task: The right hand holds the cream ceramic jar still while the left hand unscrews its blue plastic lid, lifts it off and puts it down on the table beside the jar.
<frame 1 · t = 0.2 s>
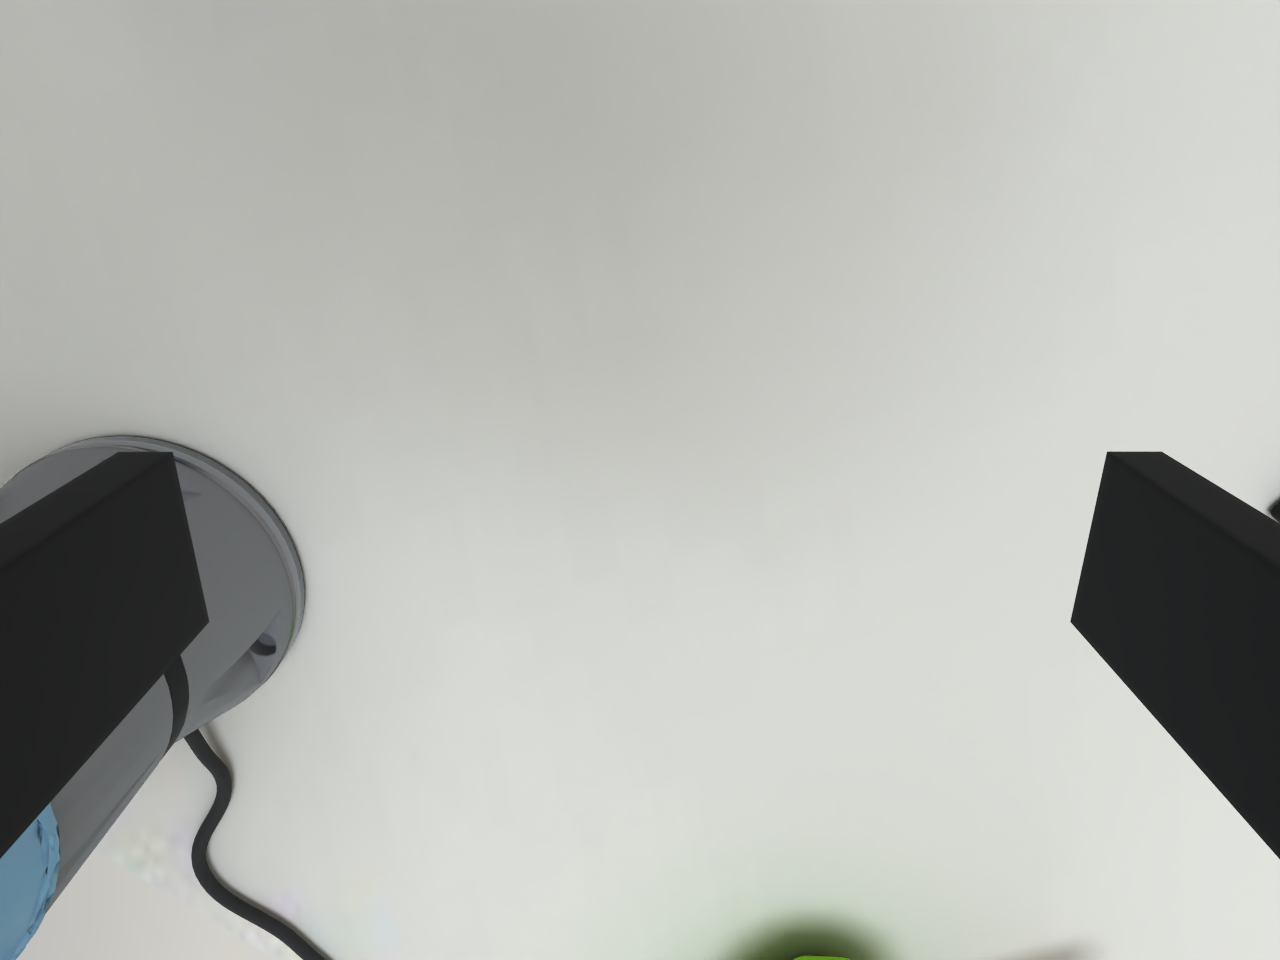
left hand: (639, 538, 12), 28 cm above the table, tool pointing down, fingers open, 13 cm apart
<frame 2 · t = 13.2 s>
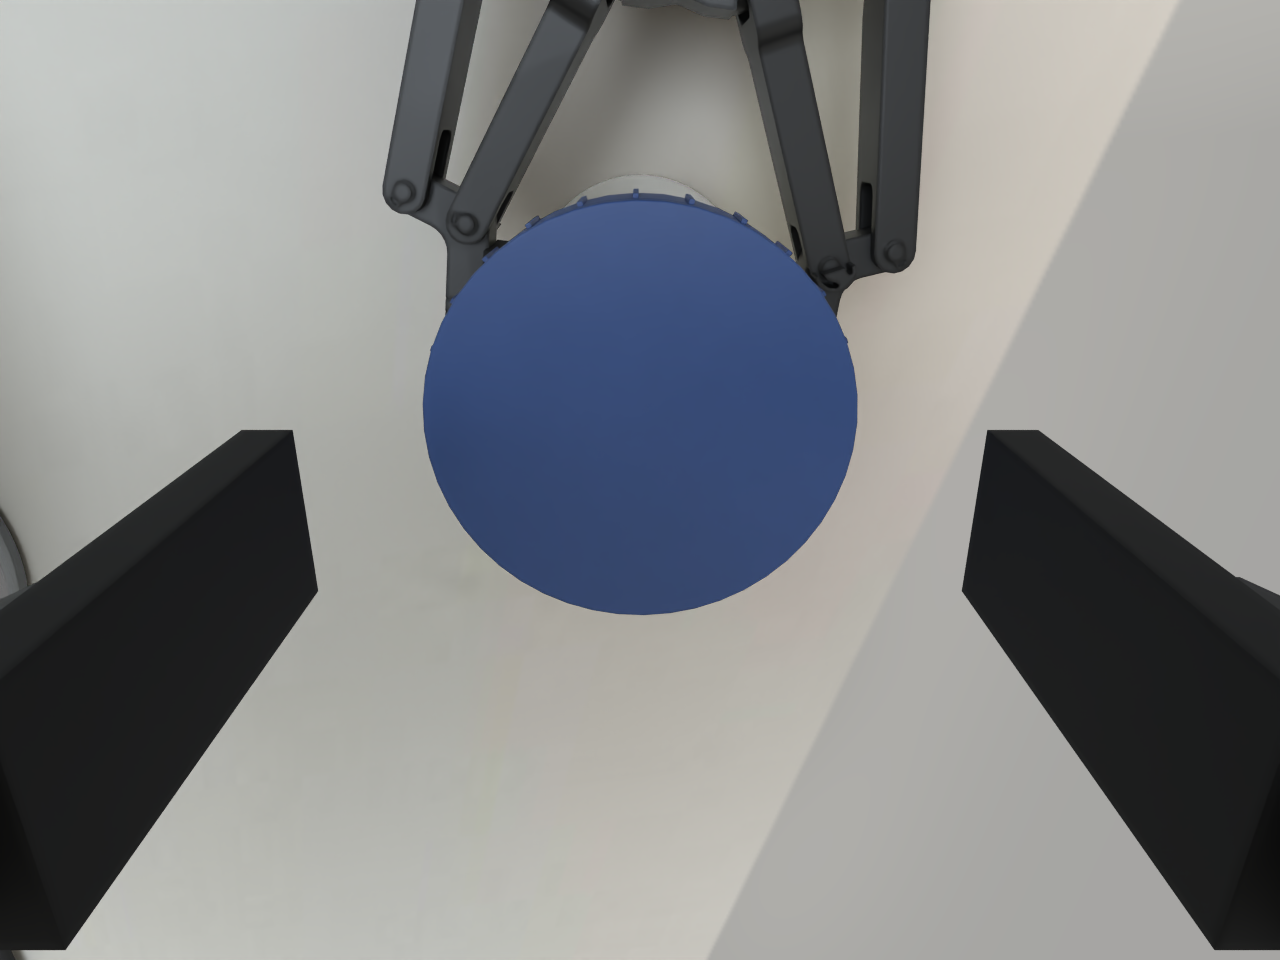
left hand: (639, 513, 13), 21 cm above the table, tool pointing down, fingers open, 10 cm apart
right hand: (623, 460, 29), fingers closed on jar, 8 cm apart
jar: (640, 285, 33), on the table, touching right hand
lid: (640, 421, 17), point 17 cm above the table, screwed on, not yet turned
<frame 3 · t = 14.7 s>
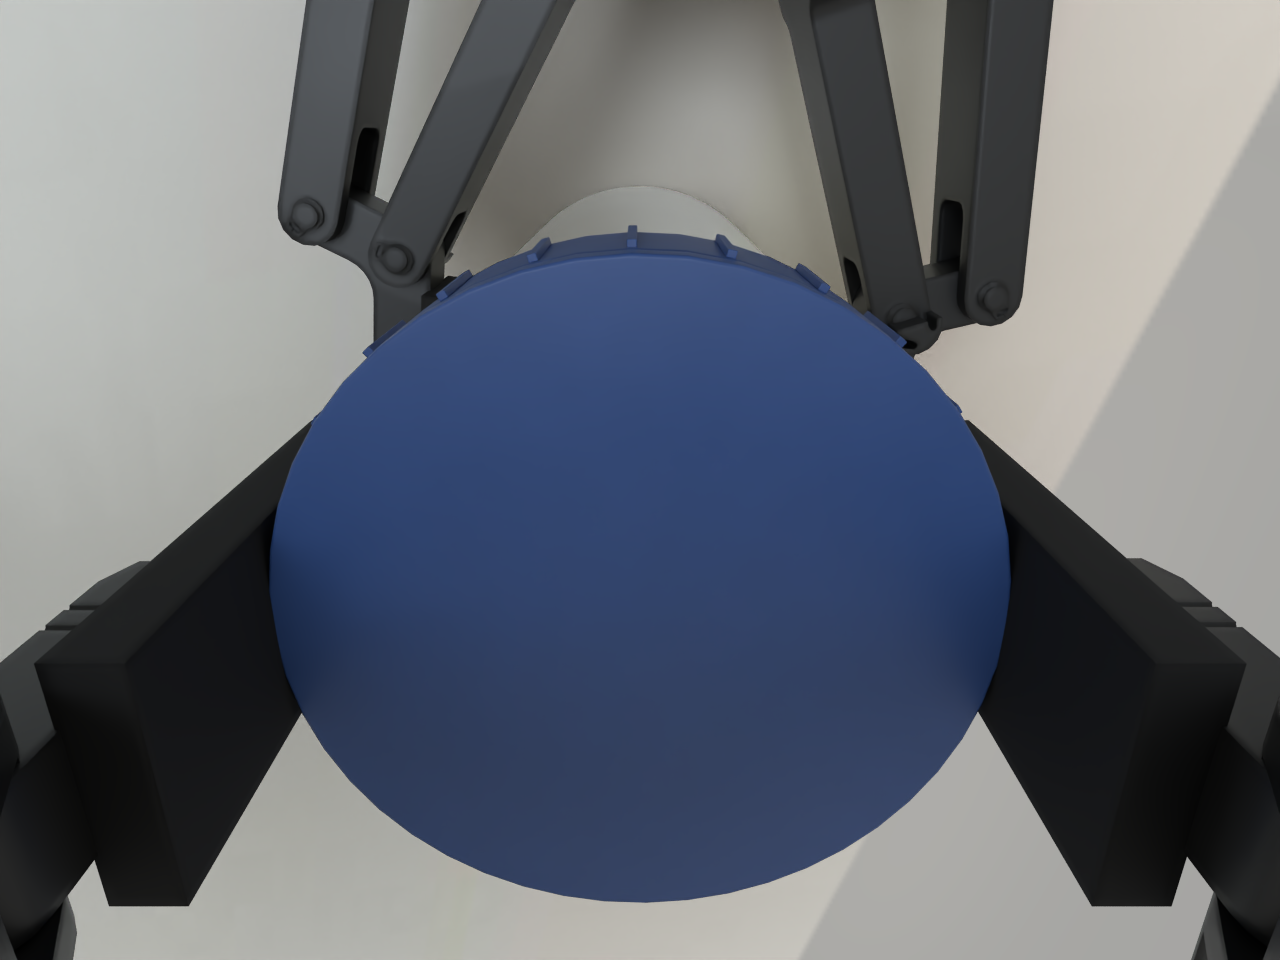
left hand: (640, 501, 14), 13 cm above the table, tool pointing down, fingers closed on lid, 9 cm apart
right hand: (617, 565, 22), fingers closed on jar, 8 cm apart
jar: (639, 326, 26), on the table, touching right hand
lid: (639, 615, 10), point 17 cm above the table, screwed on, not yet turned, touching left hand
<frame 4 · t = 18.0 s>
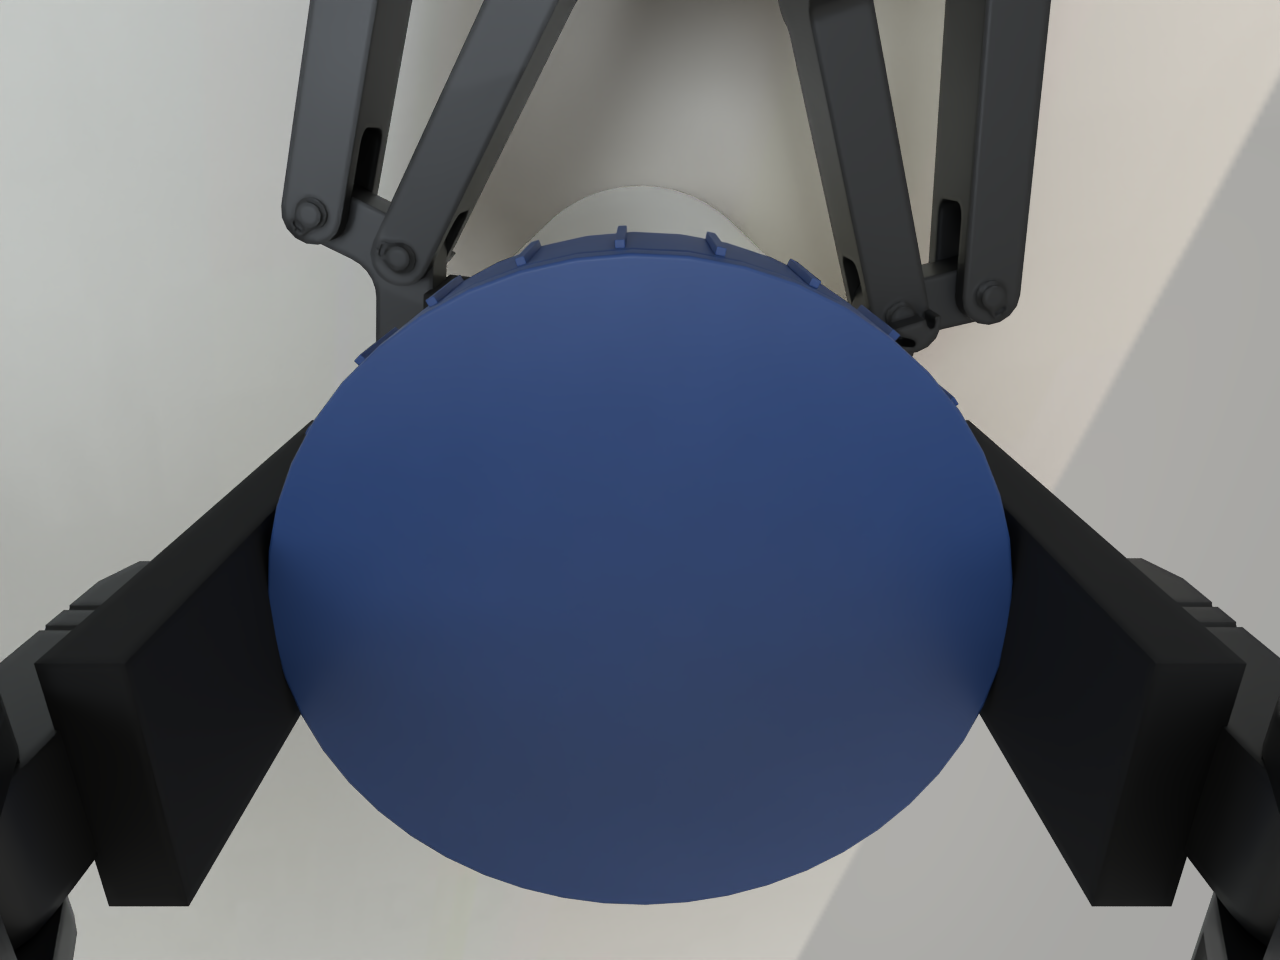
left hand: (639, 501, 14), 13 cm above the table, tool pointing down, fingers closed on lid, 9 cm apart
right hand: (618, 562, 22), fingers closed on jar, 8 cm apart
jar: (640, 324, 26), on the table, touching right hand
lid: (639, 616, 10), point 17 cm above the table, turned 112° so far, risen 0.2 cm, still on its thread, touching left hand
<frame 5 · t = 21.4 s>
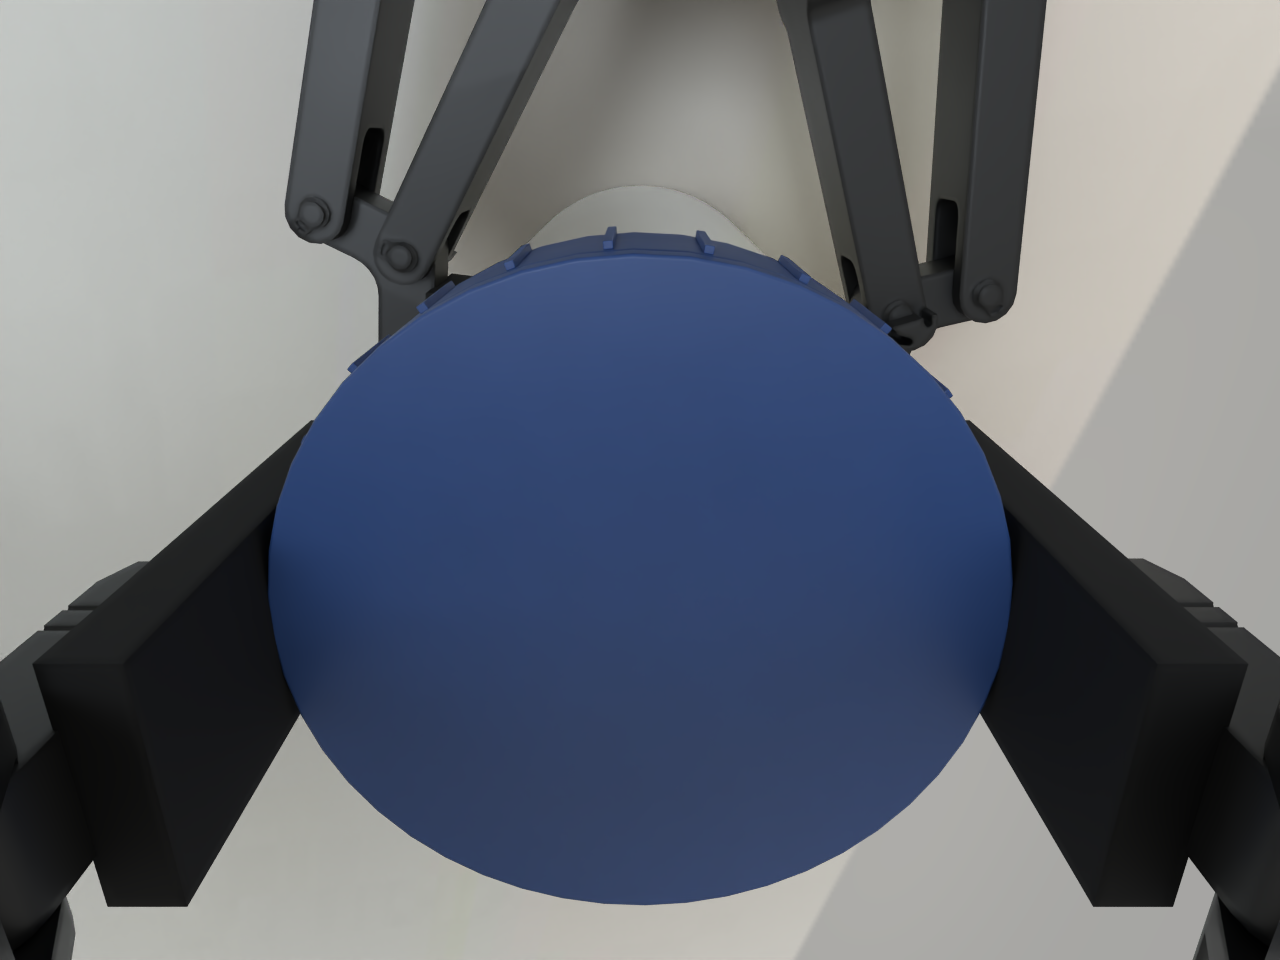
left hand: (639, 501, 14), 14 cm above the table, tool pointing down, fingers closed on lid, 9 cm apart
right hand: (618, 559, 22), fingers closed on jar, 8 cm apart
jar: (640, 323, 26), on the table, touching right hand
lid: (640, 616, 10), point 17 cm above the table, turned 225° so far, risen 0.4 cm, still on its thread, touching left hand
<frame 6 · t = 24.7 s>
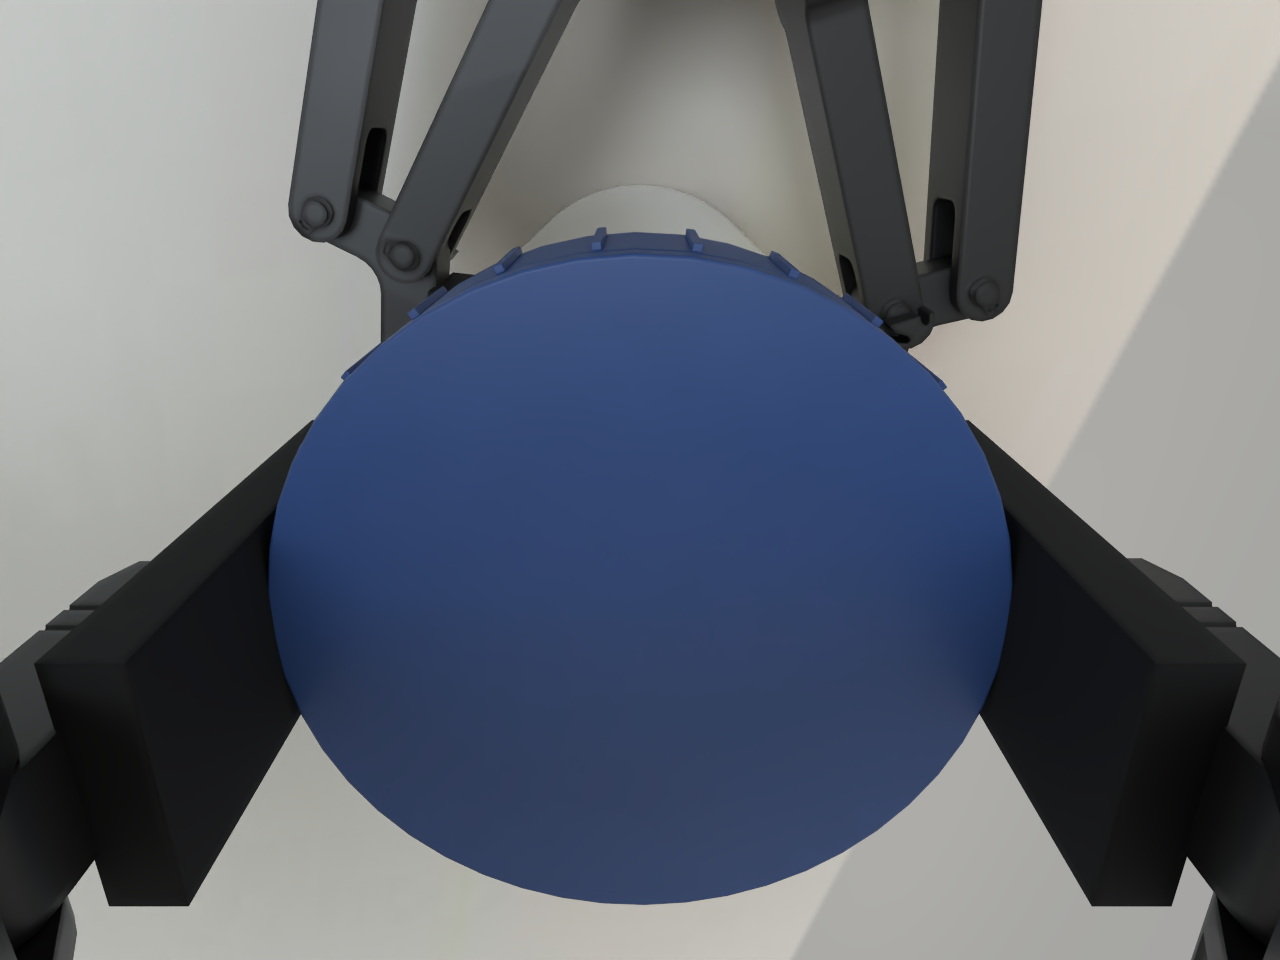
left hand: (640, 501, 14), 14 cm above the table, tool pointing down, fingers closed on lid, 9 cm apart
right hand: (618, 556, 22), fingers closed on jar, 8 cm apart
jar: (639, 322, 26), on the table, touching right hand
lid: (640, 616, 10), point 17 cm above the table, turned 337° so far, risen 0.6 cm, still on its thread, touching left hand
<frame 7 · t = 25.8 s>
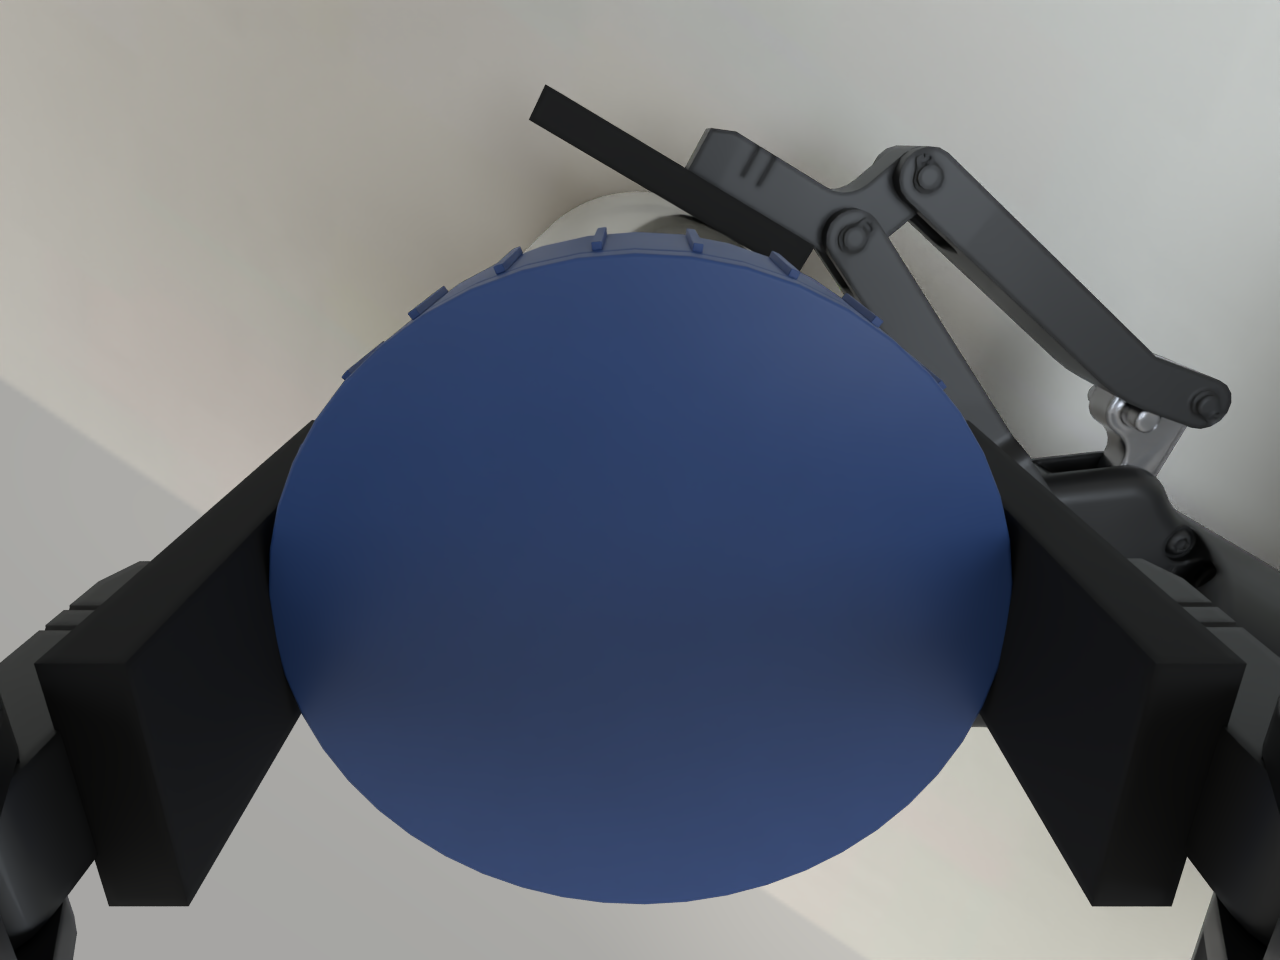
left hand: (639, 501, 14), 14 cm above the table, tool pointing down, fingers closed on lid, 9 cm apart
right hand: (460, 283, 20), fingers closed on jar, 8 cm apart
jar: (637, 325, 27), on the table, touching right hand
lid: (640, 616, 10), point 18 cm above the table, off its thread, touching left hand
when the left hand's fingers open (0 cm above the table, at t = 32.4 s): lid drops 2 cm, point 2 cm above the table.
when the right hand's fingers open (6 cm above the table, at t = 33.5 s): jar stays where it is, on the table.
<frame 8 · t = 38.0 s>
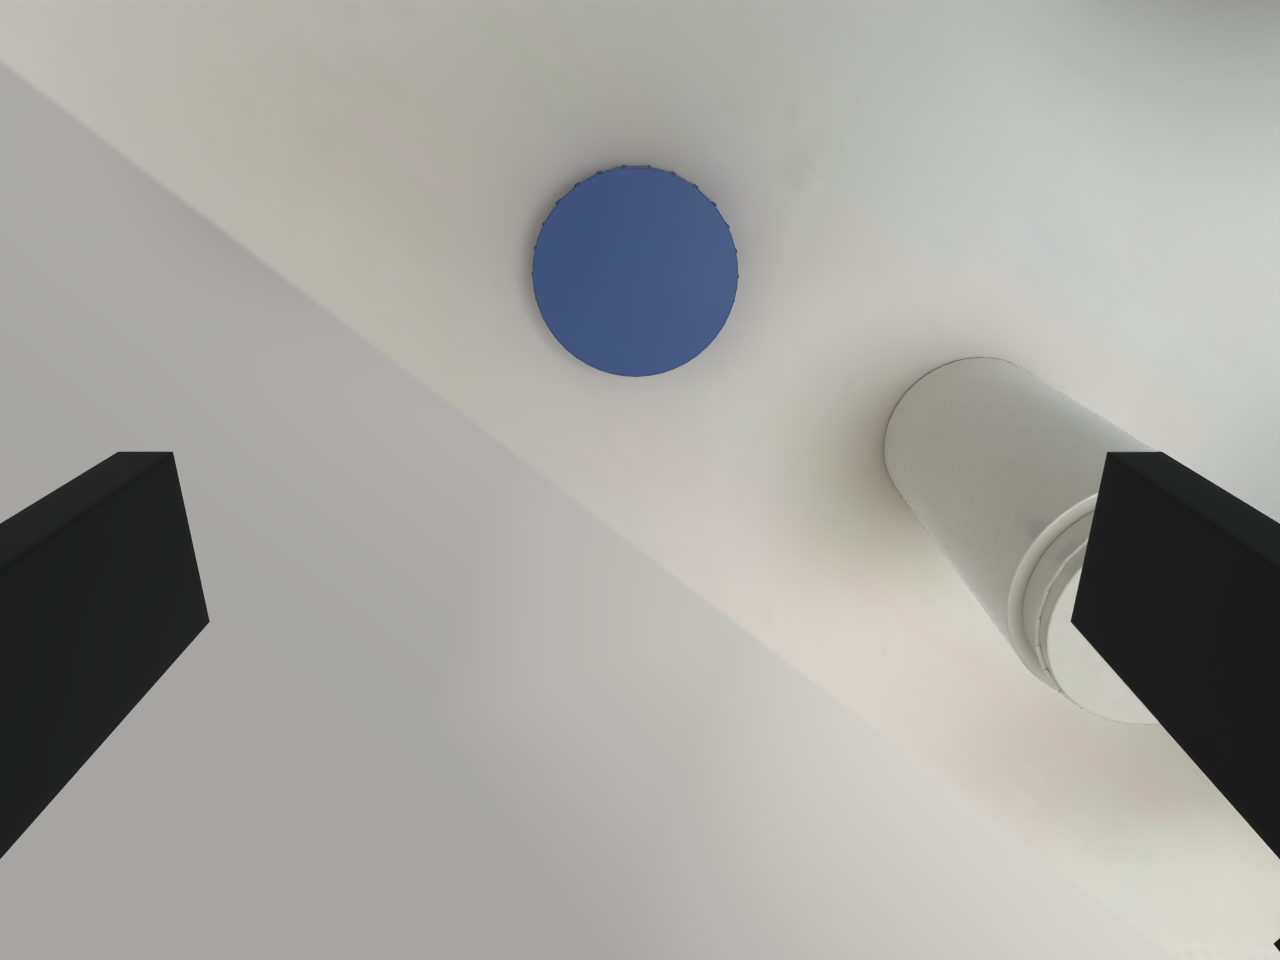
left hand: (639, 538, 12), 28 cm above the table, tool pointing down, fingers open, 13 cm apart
jar: (968, 440, 41), on the table
lid: (635, 275, 36), point 2 cm above the table, off its thread
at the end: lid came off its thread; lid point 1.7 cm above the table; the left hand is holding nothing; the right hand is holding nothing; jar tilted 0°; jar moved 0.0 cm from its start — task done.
